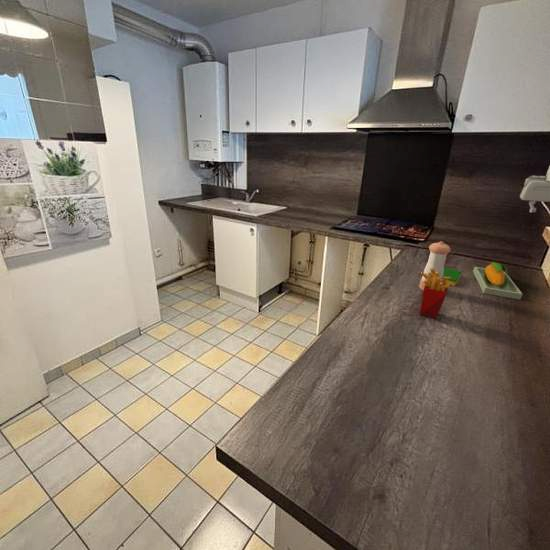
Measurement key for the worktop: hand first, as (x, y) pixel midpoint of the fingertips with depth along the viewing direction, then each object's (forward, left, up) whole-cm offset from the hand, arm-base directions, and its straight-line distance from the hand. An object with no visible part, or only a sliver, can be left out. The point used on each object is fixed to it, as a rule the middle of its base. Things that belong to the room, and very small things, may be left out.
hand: (546, 213), depth 114 cm
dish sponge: (+29, +15, -29) cm, 43 cm away
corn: (+12, +12, -28) cm, 33 cm away
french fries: (+39, +52, -29) cm, 71 cm away
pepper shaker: (+37, +30, -29) cm, 55 cm away
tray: (+12, +12, -28) cm, 33 cm away
